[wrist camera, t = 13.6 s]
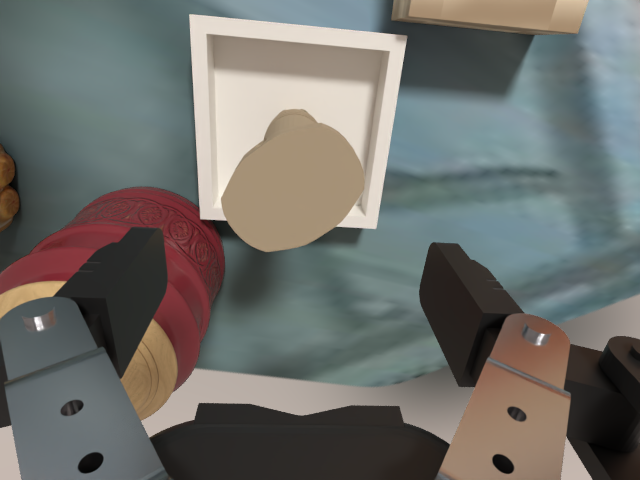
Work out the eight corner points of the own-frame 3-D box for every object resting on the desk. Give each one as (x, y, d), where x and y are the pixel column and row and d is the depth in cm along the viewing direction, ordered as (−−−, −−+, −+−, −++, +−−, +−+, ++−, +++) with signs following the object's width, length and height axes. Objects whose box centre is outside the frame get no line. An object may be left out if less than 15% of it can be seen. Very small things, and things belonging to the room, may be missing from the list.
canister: (205, 170, 33) (121, 288, 17) (242, 298, 39) (205, 474, 23) (53, 195, 33) (-169, 334, 17) (112, 318, 39) (-13, 506, 23)
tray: (201, 17, 28) (189, 14, 25) (395, 36, 29) (407, 35, 26) (209, 202, 34) (200, 219, 31) (369, 212, 35) (375, 228, 32)
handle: (345, 130, 31) (383, 196, 17) (279, 176, 32) (268, 269, 19) (310, 75, 29) (322, 101, 16) (242, 126, 30) (199, 191, 17)
